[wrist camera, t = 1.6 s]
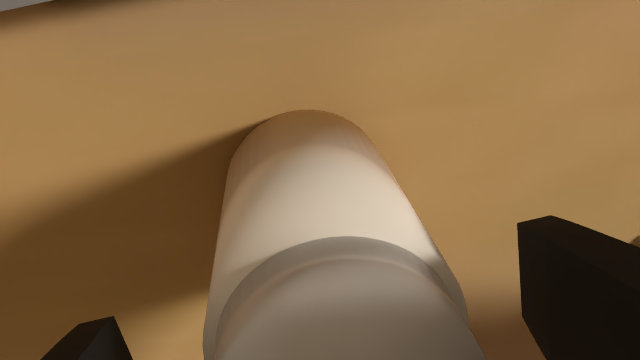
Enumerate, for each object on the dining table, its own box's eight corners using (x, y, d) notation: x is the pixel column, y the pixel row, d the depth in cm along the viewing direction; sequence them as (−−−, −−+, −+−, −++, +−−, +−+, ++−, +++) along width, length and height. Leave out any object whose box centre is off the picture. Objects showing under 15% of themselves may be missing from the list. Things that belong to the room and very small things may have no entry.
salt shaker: (394, 236, 16) (513, 483, 8) (248, 269, 16) (238, 548, 8) (371, 93, 14) (495, 245, 7) (206, 130, 14) (147, 324, 6)
